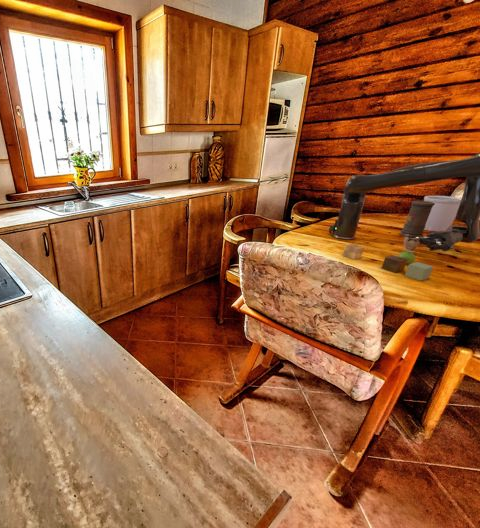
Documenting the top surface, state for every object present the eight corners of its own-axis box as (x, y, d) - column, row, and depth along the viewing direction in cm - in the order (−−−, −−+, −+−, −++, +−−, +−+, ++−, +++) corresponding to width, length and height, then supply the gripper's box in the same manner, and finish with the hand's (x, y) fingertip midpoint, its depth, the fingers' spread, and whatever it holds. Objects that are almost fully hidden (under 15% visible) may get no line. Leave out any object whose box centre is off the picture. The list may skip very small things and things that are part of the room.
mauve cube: (342, 255, 129) (345, 245, 127) (349, 254, 131) (352, 244, 129) (353, 259, 125) (356, 249, 123) (361, 257, 127) (364, 247, 125)
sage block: (404, 275, 109) (409, 264, 107) (412, 273, 110) (417, 261, 108) (420, 280, 104) (425, 268, 102) (428, 278, 106) (433, 266, 104)
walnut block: (381, 268, 115) (385, 257, 113) (389, 266, 117) (393, 255, 115) (395, 272, 111) (399, 261, 109) (403, 270, 113) (407, 259, 111)
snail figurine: (404, 260, 122) (413, 233, 117) (416, 265, 116) (427, 238, 111) (390, 260, 122) (399, 234, 118) (402, 265, 116) (412, 238, 112)
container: (420, 234, 151) (432, 201, 144) (424, 238, 144) (438, 204, 137) (398, 232, 156) (409, 200, 149) (401, 236, 149) (413, 203, 142)
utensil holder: (427, 224, 167) (438, 194, 160) (458, 230, 153) (472, 198, 146) (406, 226, 165) (417, 196, 158) (436, 233, 151) (449, 201, 144)
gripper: (423, 227, 128) (400, 232, 123) (466, 235, 116) (443, 241, 111) (417, 242, 131) (395, 248, 126) (458, 252, 118) (436, 259, 114)
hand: (418, 245), depth 118 cm, fingers open, 8 cm apart
